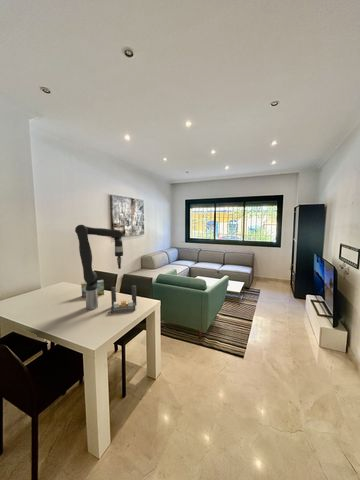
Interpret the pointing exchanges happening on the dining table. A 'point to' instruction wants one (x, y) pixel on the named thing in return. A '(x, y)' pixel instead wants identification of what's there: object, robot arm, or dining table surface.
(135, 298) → the post
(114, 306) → the paddle
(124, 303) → the paddle
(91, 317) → the dining table surface
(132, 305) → the paddle
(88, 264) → the robot arm
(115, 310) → the breaker strip
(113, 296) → the post
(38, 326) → the dining table surface
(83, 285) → the snack box
